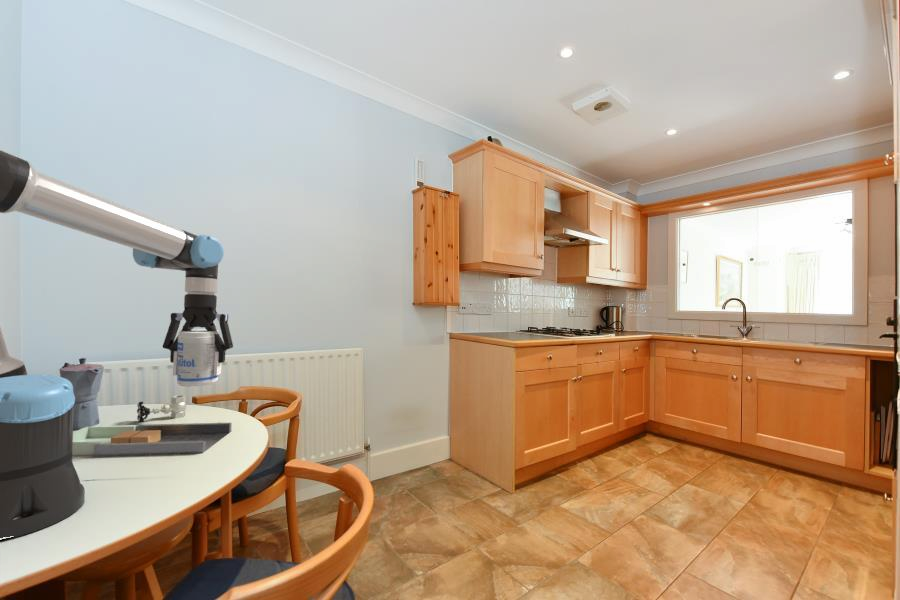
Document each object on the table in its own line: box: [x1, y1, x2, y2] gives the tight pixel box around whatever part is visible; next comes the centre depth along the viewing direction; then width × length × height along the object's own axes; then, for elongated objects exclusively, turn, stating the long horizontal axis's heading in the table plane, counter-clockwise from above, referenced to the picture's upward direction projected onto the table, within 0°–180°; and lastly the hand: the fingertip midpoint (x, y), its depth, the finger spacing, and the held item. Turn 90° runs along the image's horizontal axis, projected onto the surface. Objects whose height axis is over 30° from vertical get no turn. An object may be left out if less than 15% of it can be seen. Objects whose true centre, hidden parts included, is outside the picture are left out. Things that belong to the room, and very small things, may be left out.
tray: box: [72, 424, 137, 456], centre depth 96 cm, size 13×12×3 cm
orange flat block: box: [131, 430, 161, 443], centre depth 98 cm, size 5×4×2 cm
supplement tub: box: [176, 328, 219, 388], centre depth 105 cm, size 10×10×15 cm
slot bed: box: [92, 422, 233, 458], centre depth 98 cm, size 16×24×3 cm, turn 97°
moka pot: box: [59, 357, 105, 432], centre depth 111 cm, size 10×15×20 cm, turn 78°
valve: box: [136, 394, 187, 424], centre depth 118 cm, size 7×7×12 cm
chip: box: [111, 431, 142, 443], centre depth 97 cm, size 5×4×2 cm
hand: (197, 374), depth 105 cm, fingers closed on supplement tub, 9 cm apart
